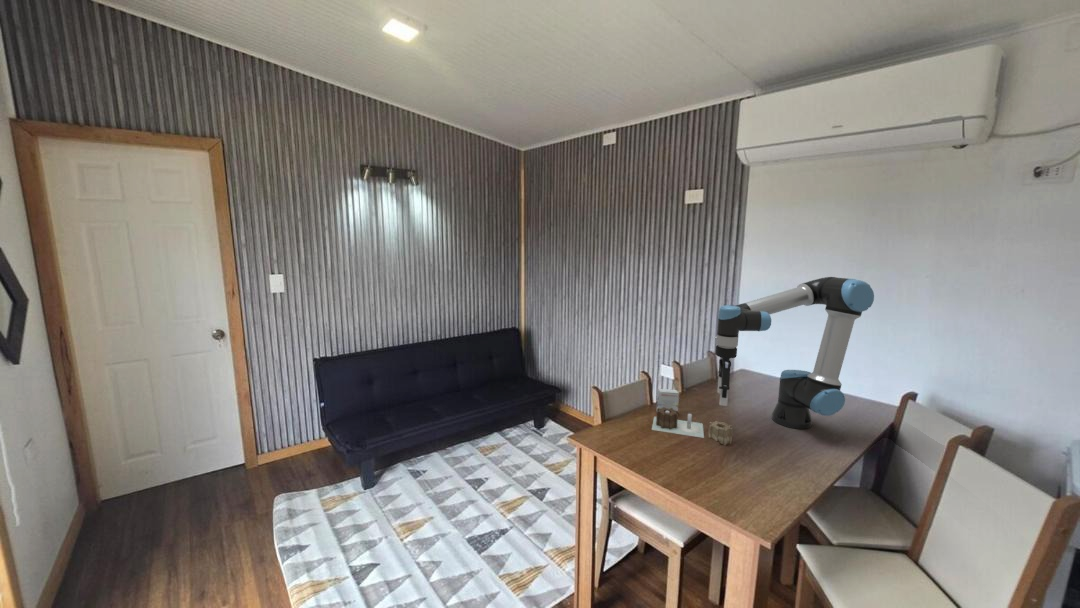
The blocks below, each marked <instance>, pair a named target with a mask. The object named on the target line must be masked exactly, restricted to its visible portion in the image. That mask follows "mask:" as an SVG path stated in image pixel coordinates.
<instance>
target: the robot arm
mask: <svg viewBox="0 0 1080 608" xmlns="http://www.w3.org/2000/svg"><path fill="white" fill-rule="evenodd" d="M874 300H875V293H874V290H873V288H872V287H871V285H870V284H869V283H867V282H866V281H863V280H860V279H856V278H848V277H847V278H845V277H835V276H826V277H821V278H816V279H813V280H809V281H806V282H803V283H800V284H798V285H797V286H796V287H794V288H791V289H787V290H783V291H781V292H778V293H774V294H771V295H767V296H764V297H760V298H757V299H754V300H750V301H747V302H744V303H738V304H736V305H734V304H726V305H722V306H720V307H719V309H718V316H717V329H716V330H717V331H716V336H715V337H714V339H715V340H716V341H715V342H716V343H715V344H716V346H715V351H714V354H715V356H717V357H719V358H720V359H719V360H718V361H719V366H718V367H719V369H718V378H717V381H718V382H717V390H716V393H718V394H719V402H718V403H719V406H722V407H723V406H724V407H727V406H728V401H729V400H728V399H729V390H730V380H731V379H730V377H731V367H732V361H731V360H730V359H735V358H736V357H737V355H738V348H737V347H738V345H739V333H740V332H763V331H764V332H765V331H768V330H769V329H770V328H771V326H772V317H771V315H773V314H777V313H779V312H783V311H784V312H785V311H787V310H790V309H794V308H798V307H800V306H805V307H808V306H809V307H810V306H812V305H825V308H824V310H825V312H826V314H827V315H828V316H827V319H826V323H825V327H824V330H823V334H822V337H821V341H820V345H819V349H818V352H817V357H816V359H815V363H814V368H813V370H812V372H811V371H809V370H801V369H784V370H783V371H781V373H780V377H779V384H778V385H779V387H778V397H777V399H778V400H777V403H776V405H775V407H774V408H773V410H772V412H771V420H772V421H773V422H775V423H777V424H778V425H781V426H784V427H786V428H791V429H798V430H807V429H810V428H811V427H812V425H813V420H812V416H811V411H812V412H814V413H816V414H819V415H821V416H827V417H828V416H834V415H835V414H837V413H838V412H840V411H841V410H842V409H843V408H844V406H845V403H846V397H845V394H844V392H842V391H841V388H842V386H843V385H842V382H841V381H840V380H839V378H840V375H841V370H842V367H843V363H844V360H845V356H846V354H847V353H846V352H847V350H848V347H849V342H850V338H851V335H852V331H853V328H854V324H855V320H857V319H858V318H861V316H862V313H863V312H865V311H867V310H869V308H871V307H872V305H873V304H874ZM810 410H811V411H810Z"/></svg>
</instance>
